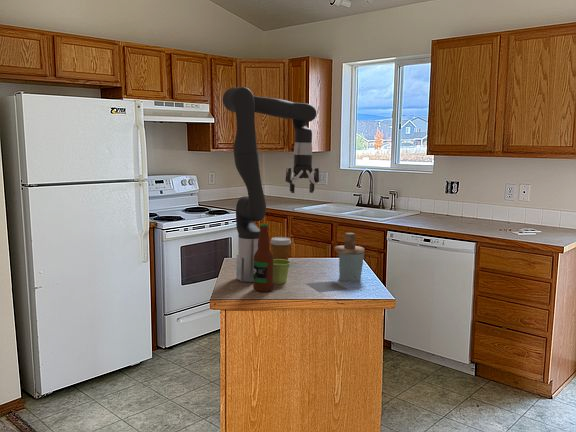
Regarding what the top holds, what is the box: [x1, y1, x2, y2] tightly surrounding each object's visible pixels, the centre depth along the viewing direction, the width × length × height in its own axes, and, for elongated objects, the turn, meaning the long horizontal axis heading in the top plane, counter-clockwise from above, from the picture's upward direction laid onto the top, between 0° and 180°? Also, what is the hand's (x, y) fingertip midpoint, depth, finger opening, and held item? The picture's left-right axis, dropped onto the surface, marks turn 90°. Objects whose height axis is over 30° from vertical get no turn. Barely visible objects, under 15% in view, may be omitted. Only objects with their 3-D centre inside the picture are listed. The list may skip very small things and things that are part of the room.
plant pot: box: [273, 259, 292, 285], centre depth 205 cm, size 9×9×9 cm
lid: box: [334, 232, 366, 254], centre depth 211 cm, size 12×12×7 cm
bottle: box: [253, 223, 274, 293], centre depth 194 cm, size 7×7×25 cm
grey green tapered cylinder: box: [338, 252, 365, 283], centre depth 211 cm, size 10×10×12 cm
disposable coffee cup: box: [269, 236, 292, 260], centre depth 235 cm, size 10×10×12 cm
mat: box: [306, 280, 348, 293], centre depth 200 cm, size 12×12×1 cm
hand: (302, 192), depth 218 cm, fingers open, 8 cm apart
